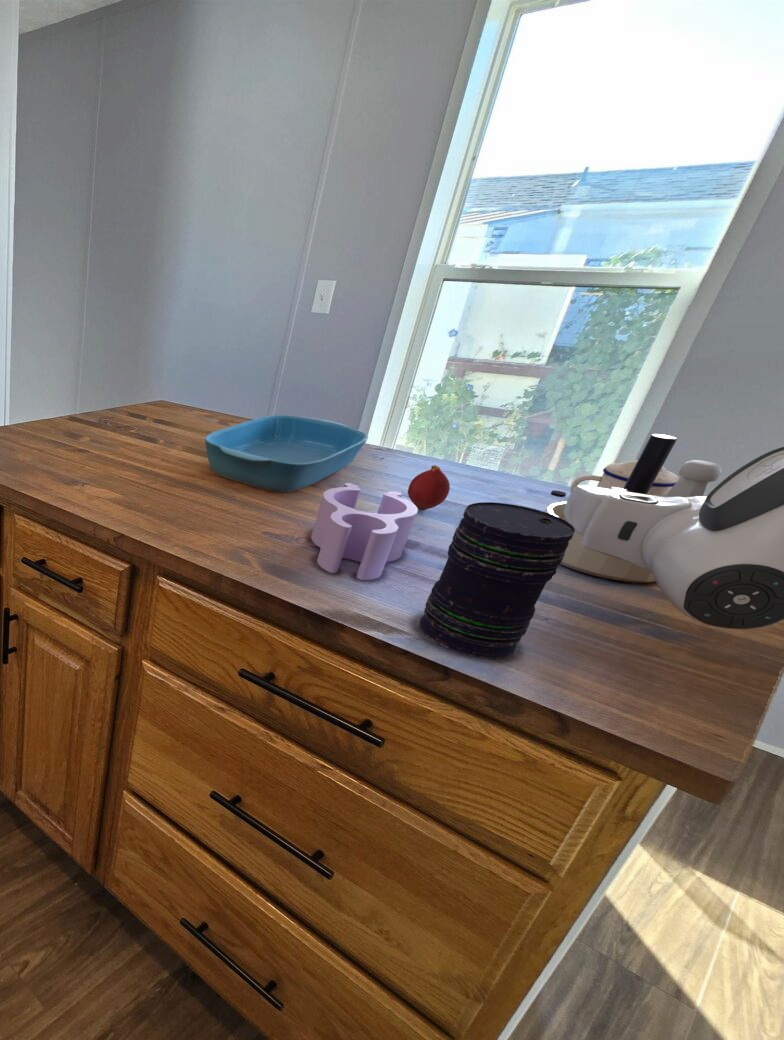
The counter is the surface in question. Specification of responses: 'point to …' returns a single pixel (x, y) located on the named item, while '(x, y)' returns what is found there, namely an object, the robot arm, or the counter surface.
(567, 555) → the bowl
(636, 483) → the black tall cylinder post
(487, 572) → the oil drum
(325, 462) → the casserole dish
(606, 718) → the counter surface
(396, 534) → the clip
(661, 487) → the teacup with lid
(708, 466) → the salt shaker
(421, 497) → the onion
